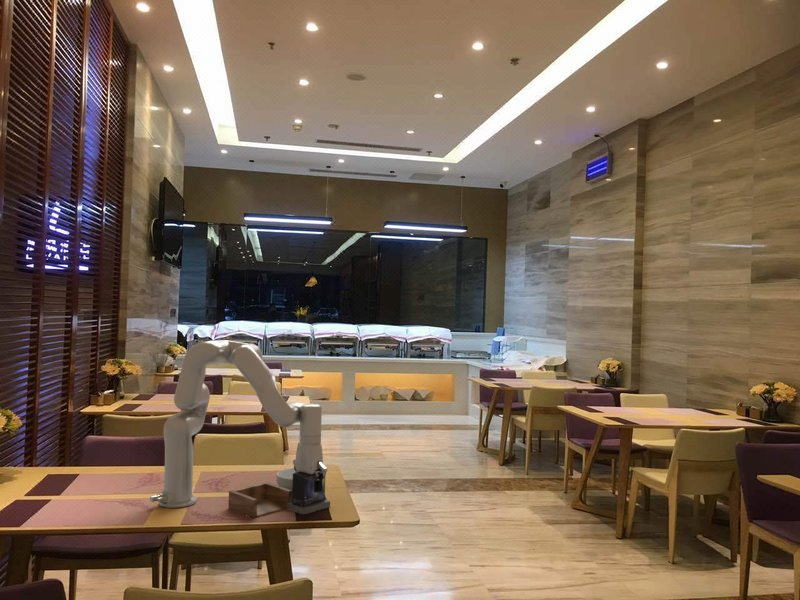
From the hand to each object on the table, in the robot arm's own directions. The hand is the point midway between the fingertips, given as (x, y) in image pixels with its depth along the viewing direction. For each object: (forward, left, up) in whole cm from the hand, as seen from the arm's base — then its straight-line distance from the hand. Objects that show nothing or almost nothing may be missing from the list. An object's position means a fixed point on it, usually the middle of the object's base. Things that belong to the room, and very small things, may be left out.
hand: (309, 488), depth 213 cm
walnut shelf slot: (-12, +11, -7) cm, 18 cm away
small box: (0, 0, -5) cm, 5 cm away
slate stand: (0, 0, -7) cm, 7 cm away
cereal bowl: (+10, +18, -7) cm, 22 cm away
